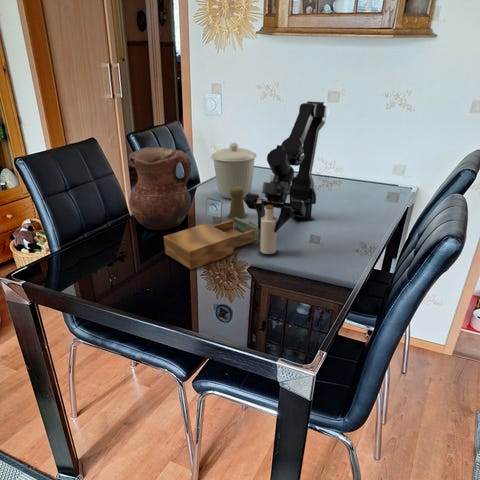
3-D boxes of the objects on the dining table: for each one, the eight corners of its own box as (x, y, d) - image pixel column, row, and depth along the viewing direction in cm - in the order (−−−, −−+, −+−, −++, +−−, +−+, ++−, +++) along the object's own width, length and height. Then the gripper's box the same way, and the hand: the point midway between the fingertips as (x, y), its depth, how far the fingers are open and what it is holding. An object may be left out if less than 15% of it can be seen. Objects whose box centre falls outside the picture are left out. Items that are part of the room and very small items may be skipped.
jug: (142, 239, 147) (130, 163, 132) (125, 219, 162) (113, 149, 148) (202, 227, 155) (197, 154, 141) (181, 209, 170) (174, 142, 156)
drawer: (245, 225, 153) (245, 214, 151) (270, 236, 145) (271, 225, 143) (200, 240, 143) (199, 228, 141) (224, 253, 135) (224, 241, 132)
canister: (263, 193, 185) (264, 141, 174) (241, 205, 173) (240, 150, 161) (228, 186, 194) (227, 136, 182) (204, 197, 181) (201, 144, 169)
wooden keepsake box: (207, 239, 146) (206, 223, 142) (233, 253, 137) (233, 236, 133) (165, 253, 137) (163, 236, 134) (190, 269, 128) (189, 251, 125)
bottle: (268, 245, 139) (269, 201, 131) (279, 250, 136) (281, 205, 128) (257, 250, 136) (257, 205, 128) (268, 255, 133) (269, 210, 125)
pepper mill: (243, 219, 161) (243, 189, 154) (227, 218, 162) (226, 189, 155) (246, 213, 166) (246, 184, 159) (231, 212, 167) (230, 184, 160)
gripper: (246, 166, 129) (230, 214, 127) (305, 173, 122) (290, 224, 120) (256, 185, 139) (242, 229, 137) (312, 192, 132) (298, 239, 131)
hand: (266, 230), depth 131 cm, fingers closed on bottle, 5 cm apart
